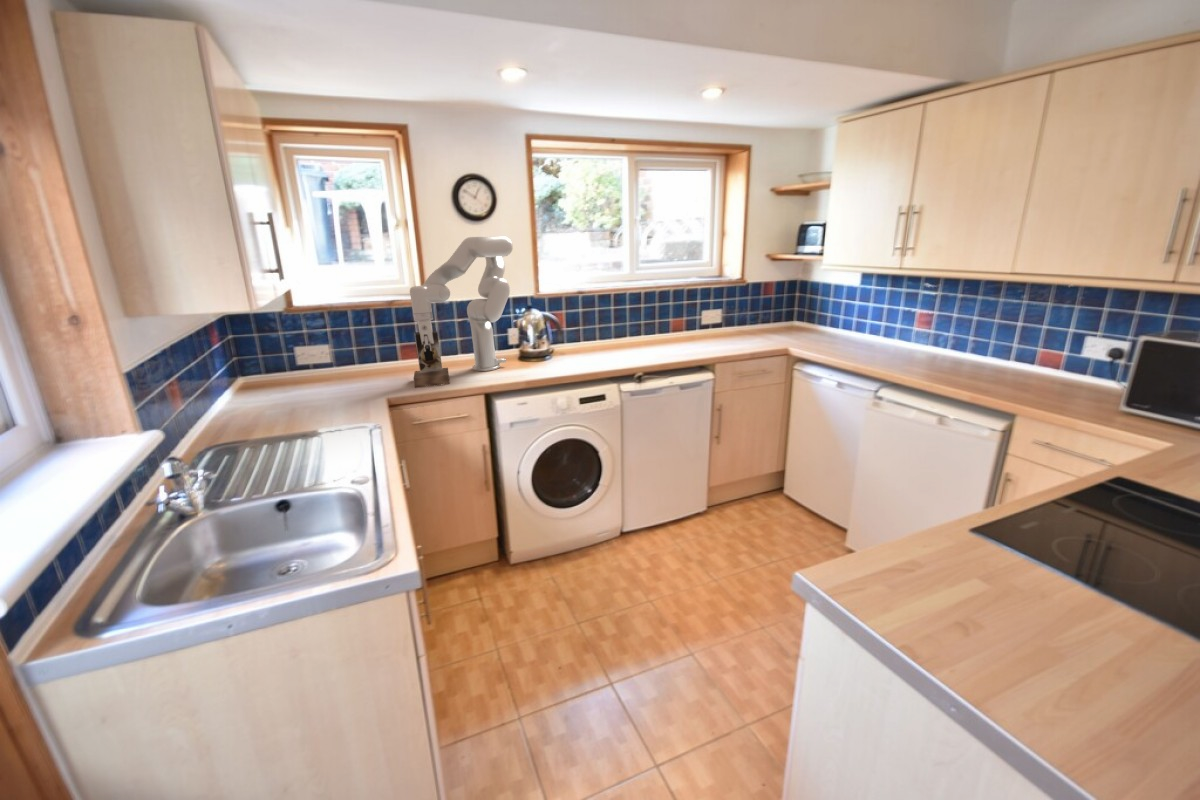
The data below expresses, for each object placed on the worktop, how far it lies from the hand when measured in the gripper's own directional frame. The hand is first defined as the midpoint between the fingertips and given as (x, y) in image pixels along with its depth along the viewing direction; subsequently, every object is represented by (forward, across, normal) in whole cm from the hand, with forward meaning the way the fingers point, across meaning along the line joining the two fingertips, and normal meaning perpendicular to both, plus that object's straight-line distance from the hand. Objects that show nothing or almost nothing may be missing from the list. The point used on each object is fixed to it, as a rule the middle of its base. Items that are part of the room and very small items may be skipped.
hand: (429, 358), depth 224 cm
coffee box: (+5, 0, 0) cm, 5 cm away
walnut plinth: (+10, 0, 0) cm, 10 cm away
